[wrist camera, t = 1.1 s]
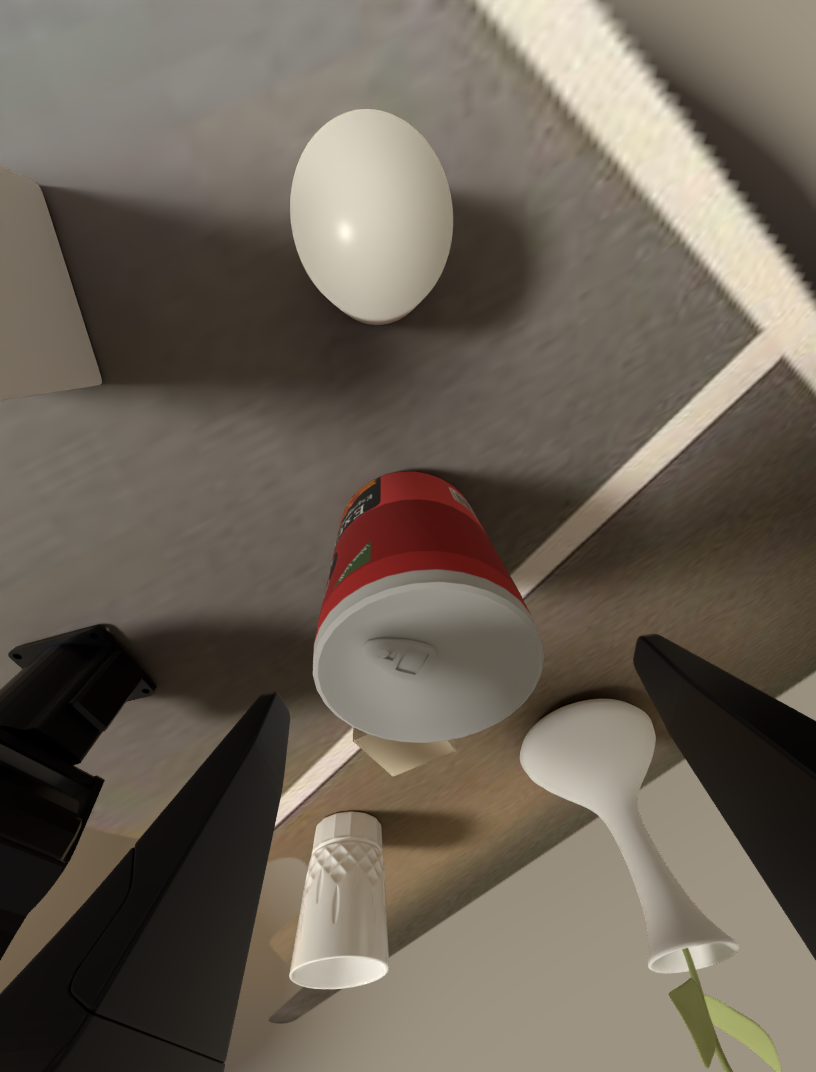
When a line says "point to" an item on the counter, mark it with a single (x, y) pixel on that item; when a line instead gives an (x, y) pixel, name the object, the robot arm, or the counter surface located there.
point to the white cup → (343, 907)
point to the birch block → (401, 751)
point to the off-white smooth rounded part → (371, 215)
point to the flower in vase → (640, 854)
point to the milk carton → (37, 301)
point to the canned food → (421, 618)
